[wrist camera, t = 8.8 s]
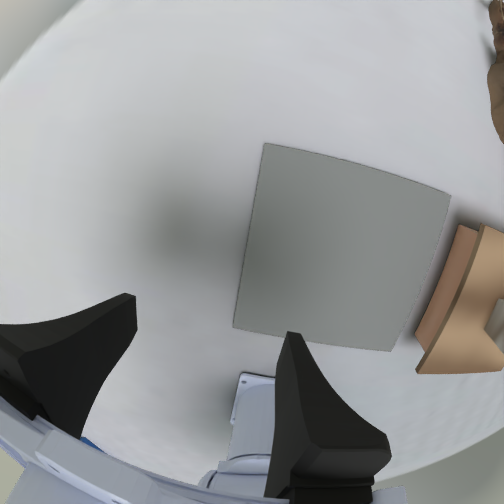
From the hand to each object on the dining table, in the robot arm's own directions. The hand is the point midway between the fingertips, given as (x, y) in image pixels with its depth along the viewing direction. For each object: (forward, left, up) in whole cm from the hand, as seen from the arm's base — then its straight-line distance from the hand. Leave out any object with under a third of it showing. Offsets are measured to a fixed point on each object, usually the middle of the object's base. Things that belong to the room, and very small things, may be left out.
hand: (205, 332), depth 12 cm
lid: (+1, -23, -6) cm, 24 cm away
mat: (+1, -8, -10) cm, 13 cm away
